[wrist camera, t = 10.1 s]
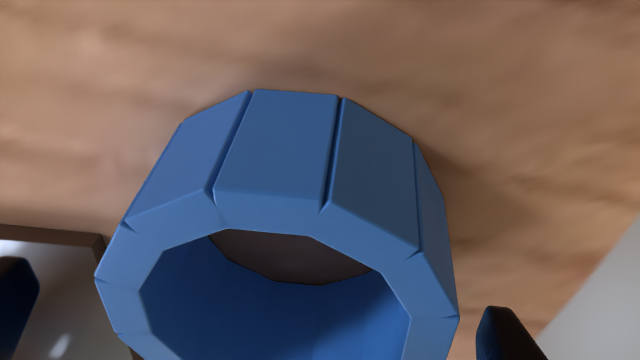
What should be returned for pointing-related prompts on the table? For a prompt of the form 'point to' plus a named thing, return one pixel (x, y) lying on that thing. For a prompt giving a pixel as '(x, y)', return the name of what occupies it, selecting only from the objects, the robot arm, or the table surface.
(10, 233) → the tape stand
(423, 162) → the tape roll
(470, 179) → the table surface
